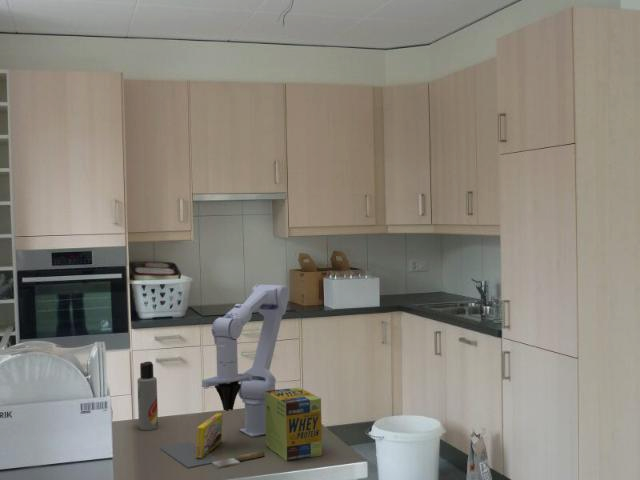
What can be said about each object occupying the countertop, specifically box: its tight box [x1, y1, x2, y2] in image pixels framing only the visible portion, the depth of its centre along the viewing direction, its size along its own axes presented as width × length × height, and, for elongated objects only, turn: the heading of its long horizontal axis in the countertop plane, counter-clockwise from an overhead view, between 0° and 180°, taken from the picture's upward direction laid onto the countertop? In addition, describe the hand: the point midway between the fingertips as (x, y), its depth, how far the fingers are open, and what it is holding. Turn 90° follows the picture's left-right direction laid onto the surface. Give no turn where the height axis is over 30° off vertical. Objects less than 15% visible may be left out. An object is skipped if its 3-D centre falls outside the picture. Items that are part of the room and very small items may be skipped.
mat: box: [159, 441, 220, 469], centre depth 213 cm, size 9×20×1 cm, turn 32°
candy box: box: [195, 412, 224, 458], centre depth 216 cm, size 16×2×8 cm, turn 168°
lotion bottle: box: [137, 361, 159, 431], centre depth 239 cm, size 6×6×20 cm
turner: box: [212, 450, 265, 469], centre depth 207 cm, size 14×4×1 cm, turn 122°
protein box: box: [265, 387, 323, 462], centre depth 215 cm, size 10×15×16 cm
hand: (228, 409), depth 219 cm, fingers closed
